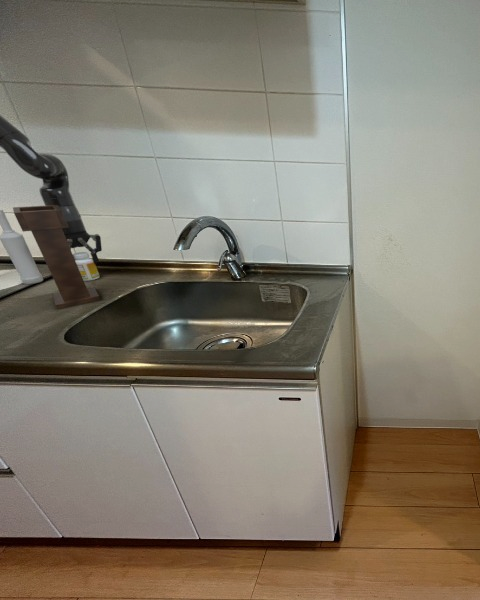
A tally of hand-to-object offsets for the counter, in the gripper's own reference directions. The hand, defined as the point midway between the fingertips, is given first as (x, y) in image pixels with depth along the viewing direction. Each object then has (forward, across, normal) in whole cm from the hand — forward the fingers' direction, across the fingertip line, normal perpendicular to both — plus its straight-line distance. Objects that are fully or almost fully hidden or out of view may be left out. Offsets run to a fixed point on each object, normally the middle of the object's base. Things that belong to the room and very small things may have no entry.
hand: (84, 264), depth 112 cm
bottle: (+6, +14, -8) cm, 17 cm away
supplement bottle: (+6, 0, 0) cm, 6 cm away
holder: (+6, +5, +19) cm, 20 cm away
